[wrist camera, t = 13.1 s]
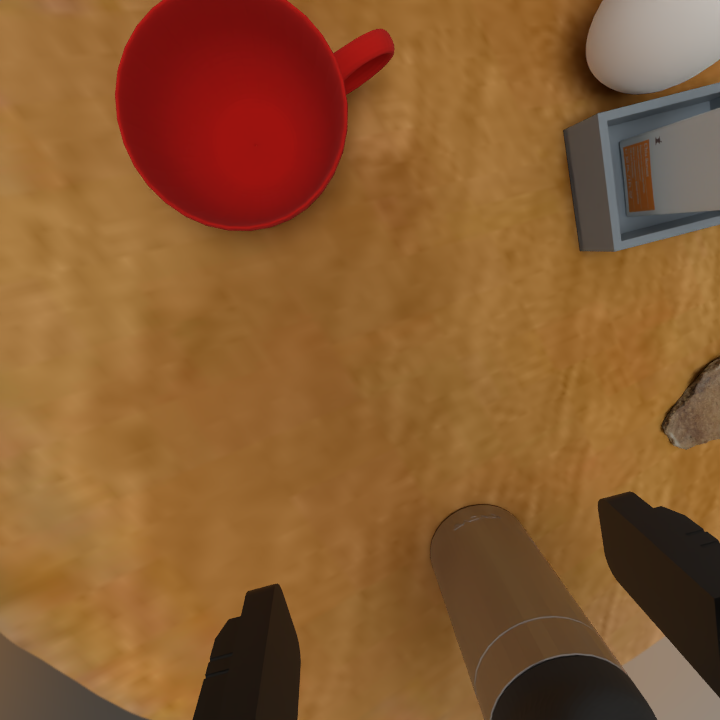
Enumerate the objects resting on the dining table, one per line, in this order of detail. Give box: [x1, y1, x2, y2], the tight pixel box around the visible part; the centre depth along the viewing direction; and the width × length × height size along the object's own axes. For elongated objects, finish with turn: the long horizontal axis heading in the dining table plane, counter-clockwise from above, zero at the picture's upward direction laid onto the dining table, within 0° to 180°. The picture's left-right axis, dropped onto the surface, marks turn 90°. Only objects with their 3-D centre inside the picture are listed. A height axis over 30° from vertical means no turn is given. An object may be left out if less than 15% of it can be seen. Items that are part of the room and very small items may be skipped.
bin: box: [563, 83, 720, 252], centre depth 37 cm, size 10×12×5 cm
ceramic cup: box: [115, 0, 394, 231], centre depth 32 cm, size 13×17×10 cm
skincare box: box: [620, 108, 720, 217], centre depth 33 cm, size 6×4×12 cm
